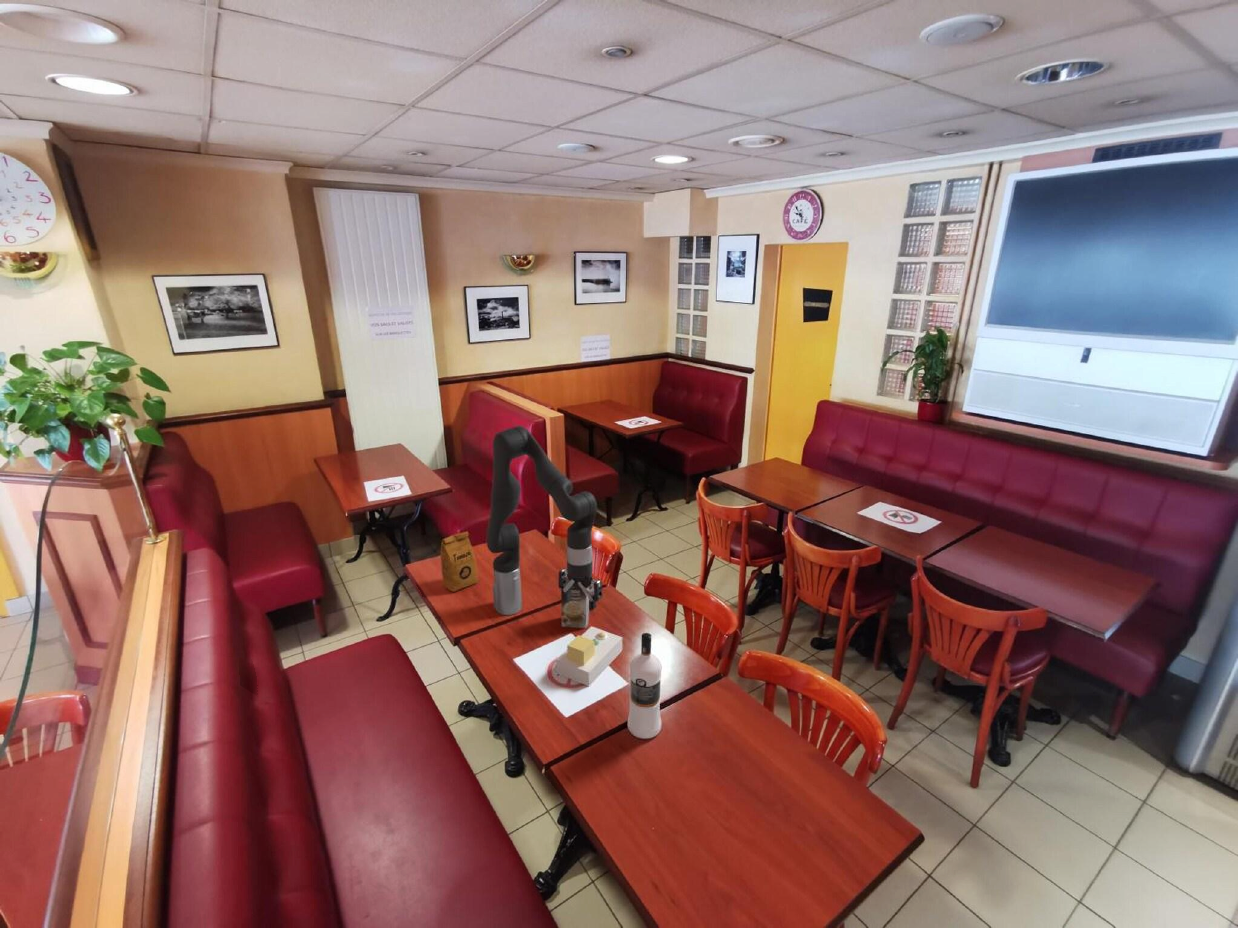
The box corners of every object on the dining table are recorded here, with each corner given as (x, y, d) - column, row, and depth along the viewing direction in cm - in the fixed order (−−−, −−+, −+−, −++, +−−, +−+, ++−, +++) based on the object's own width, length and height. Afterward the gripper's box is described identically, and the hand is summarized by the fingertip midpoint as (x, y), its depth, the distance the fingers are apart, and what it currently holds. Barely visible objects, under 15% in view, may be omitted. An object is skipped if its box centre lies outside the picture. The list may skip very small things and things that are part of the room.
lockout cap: (567, 658, 180) (567, 645, 178) (578, 648, 185) (578, 635, 183) (583, 665, 177) (583, 651, 176) (594, 654, 182) (594, 641, 180)
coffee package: (481, 584, 230) (477, 534, 223) (451, 595, 223) (446, 543, 216) (470, 574, 238) (465, 525, 230) (440, 584, 230) (435, 534, 223)
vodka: (666, 722, 162) (670, 630, 152) (651, 745, 154) (654, 650, 145) (637, 710, 166) (638, 620, 156) (621, 732, 159) (621, 638, 149)
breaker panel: (556, 672, 181) (555, 655, 179) (591, 638, 198) (591, 622, 196) (589, 686, 176) (588, 668, 174) (622, 650, 192) (622, 633, 190)
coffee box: (560, 627, 204) (559, 586, 199) (564, 616, 210) (563, 577, 205) (587, 628, 203) (586, 588, 198) (589, 618, 209) (589, 578, 204)
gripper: (552, 557, 171) (553, 604, 177) (593, 570, 165) (593, 619, 170) (567, 546, 178) (568, 593, 183) (607, 558, 171) (606, 606, 176)
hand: (580, 605), depth 177 cm, fingers open, 8 cm apart
